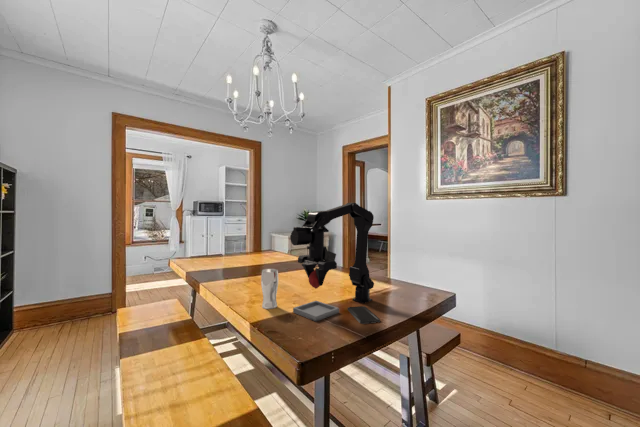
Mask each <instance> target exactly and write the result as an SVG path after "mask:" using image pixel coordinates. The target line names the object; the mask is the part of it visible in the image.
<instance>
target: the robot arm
mask: <svg viewBox="0 0 640 427" xmlns="http://www.w3.org/2000/svg"><path fill="white" fill-rule="evenodd" d="M346 215H349V216H350V217H351V218H352V219H353V224H354V227H355V230H356V238H355V239H356V240H355V241H356V243H355V256H354V257H355V258H354V263H353V265H352V266H349V271H348V272H349V273H348V277H349V280H350V281H351V284H352V286H355V290H354V291H355V292H354V293H355V295H354V298H352V301H355V302H357V303H361V304H366V303H368V302H372V301H373V298H370V293H371V292H370V290H372V289H373V288H374V286H375V282H374V281H373V280H372V278H370V270H369V268H368V265H367V259H368V258H367V256H368V242H369V231H370V230H371V228H372V226H373V224H374V214H373V213H372V211H371V210H368V209H367V208H365V207H362V206H360V204H358V203H356V202H347V203H345V204H342V205H339V206H336V207H333V208H330V209H327V210H315V211H310V212H308V214H307V216H306V217H307V218H306V219H305V221H304V223H303V224H302V226H301V227H300V226H293V228H292V229H293V230H292V231H291V234H290V236H289V237H290V238H289V239H290V240H289V241H290V243H291V244H292V245H293V246H306V245H307V246H306V248H307V250H309V251H308V254H301V255H299V256H298V257H297V263H300V264H301V266H302V267H303V269H304V271H305V274H306V276H307V278H308V279H309V275H310V274H311V273H312V272H313V271H314V270H315V268H316V274H317V278H318V282H319V287H322V286H323V284H324V282H325V280H326V279H325V278H326V276H327V273H328V272H329V271H331V270H337V269H338V268H337V266H338V265H337V264H338V263H337V261H335V260H336V256H337V253H335V252H333V251H329V250H328V249H327V246H325V233H329V232H330V229H328V228H327V227H326V226H327V225H328V224H330V222H331V221H332V220H334V219H337V218H340V217H343V216H346Z"/></svg>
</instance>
